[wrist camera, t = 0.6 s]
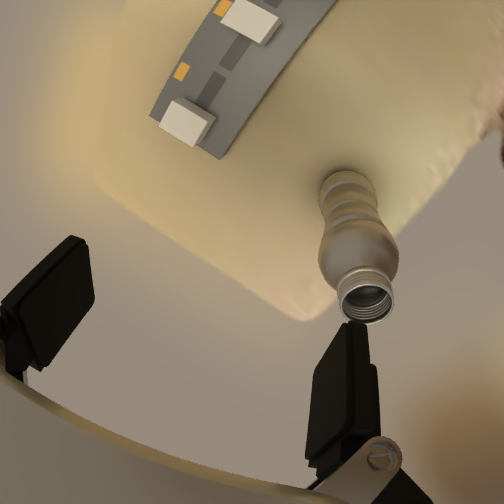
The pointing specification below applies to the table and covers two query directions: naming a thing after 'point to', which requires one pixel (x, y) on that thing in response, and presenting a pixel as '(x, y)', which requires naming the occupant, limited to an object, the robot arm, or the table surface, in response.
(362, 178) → the plastic bottle
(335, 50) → the table surface
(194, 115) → the slider
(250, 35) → the slider
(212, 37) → the switch deck
